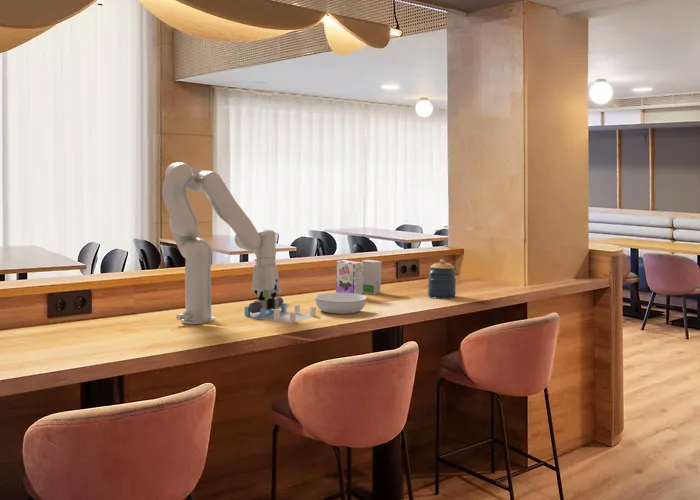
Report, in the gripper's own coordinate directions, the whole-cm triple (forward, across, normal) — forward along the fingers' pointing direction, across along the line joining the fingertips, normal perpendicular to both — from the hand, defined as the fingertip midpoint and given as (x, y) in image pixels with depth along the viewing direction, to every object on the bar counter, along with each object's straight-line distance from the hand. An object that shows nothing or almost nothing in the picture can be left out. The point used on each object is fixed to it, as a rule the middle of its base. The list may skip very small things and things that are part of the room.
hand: (266, 307), depth 272 cm
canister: (+4, +39, +83) cm, 92 cm away
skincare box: (+4, +6, +74) cm, 74 cm away
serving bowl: (+4, +21, +22) cm, 31 cm away
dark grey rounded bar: (+1, 0, 0) cm, 1 cm away
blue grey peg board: (+4, +7, 0) cm, 8 cm away
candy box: (+4, +3, +59) cm, 59 cm away
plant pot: (+4, -15, +21) cm, 26 cm away
